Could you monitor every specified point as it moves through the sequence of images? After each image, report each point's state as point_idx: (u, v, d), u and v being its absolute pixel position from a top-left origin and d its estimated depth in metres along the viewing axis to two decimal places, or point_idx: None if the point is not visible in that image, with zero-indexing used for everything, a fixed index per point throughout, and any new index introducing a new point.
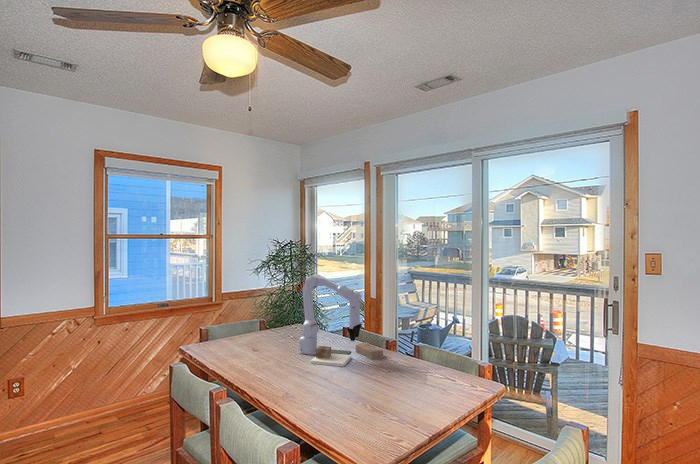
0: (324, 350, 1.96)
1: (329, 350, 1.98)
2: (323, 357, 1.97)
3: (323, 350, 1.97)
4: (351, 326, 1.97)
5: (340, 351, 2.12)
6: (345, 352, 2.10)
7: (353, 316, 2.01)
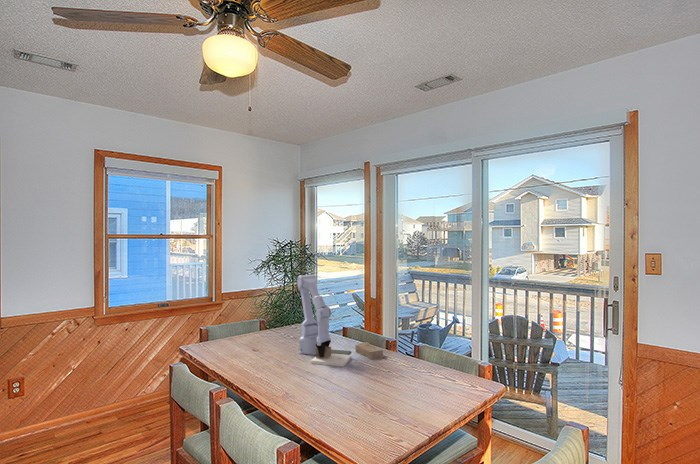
0: None
1: (329, 350, 1.98)
2: (323, 357, 1.97)
3: None
4: (319, 343, 1.92)
5: (340, 351, 2.12)
6: (345, 352, 2.10)
7: (321, 332, 1.97)
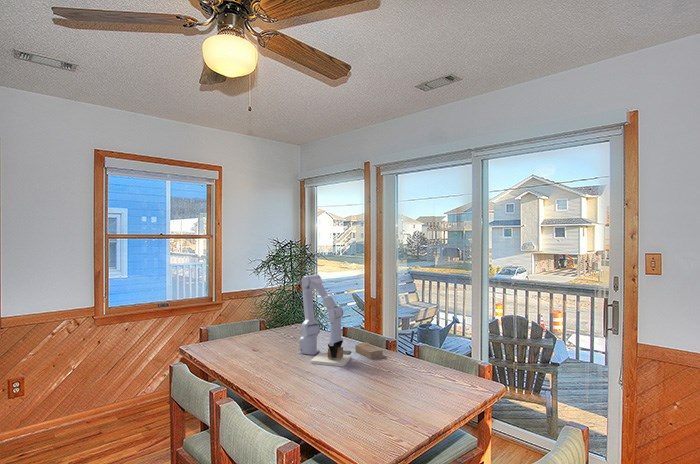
0: None
1: (341, 350, 1.96)
2: (335, 358, 1.95)
3: None
4: (331, 343, 1.90)
5: None
6: (345, 352, 2.10)
7: (334, 332, 1.95)
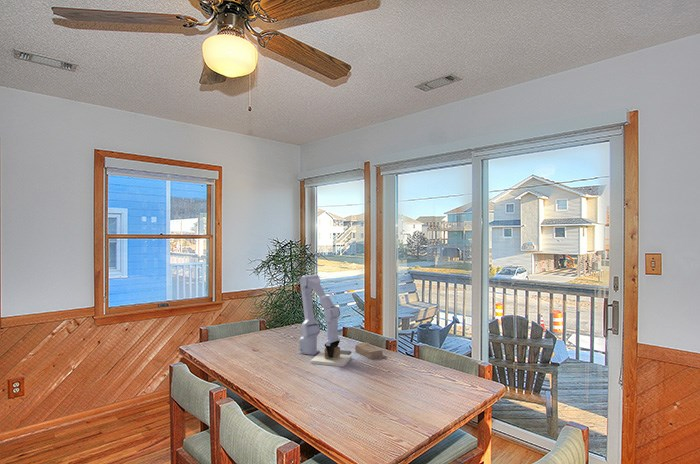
0: None
1: (338, 350, 1.97)
2: None
3: None
4: (328, 343, 1.91)
5: (340, 351, 2.12)
6: (345, 352, 2.10)
7: (330, 332, 1.95)
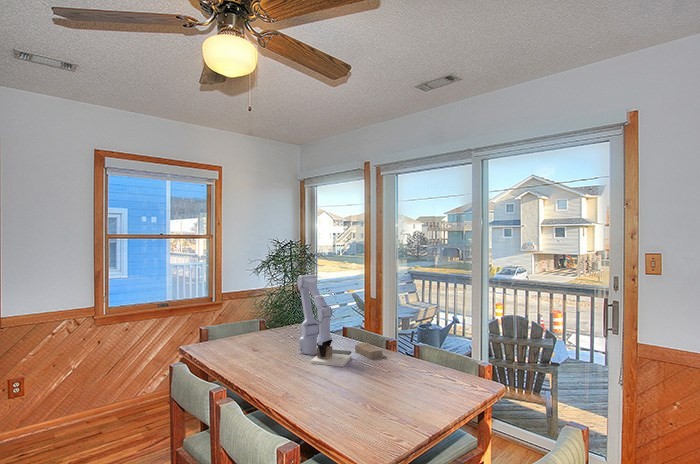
0: None
1: (330, 350, 1.98)
2: (324, 357, 1.96)
3: None
4: (320, 342, 1.92)
5: (340, 351, 2.12)
6: (345, 352, 2.10)
7: (323, 332, 1.96)
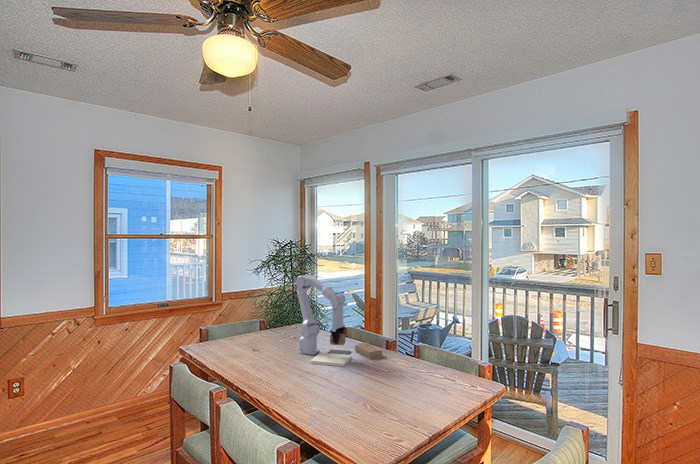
0: (339, 336, 1.97)
1: (344, 337, 1.99)
2: (338, 344, 1.98)
3: None
4: (333, 329, 1.93)
5: (340, 351, 2.12)
6: (345, 352, 2.10)
7: (336, 319, 1.98)
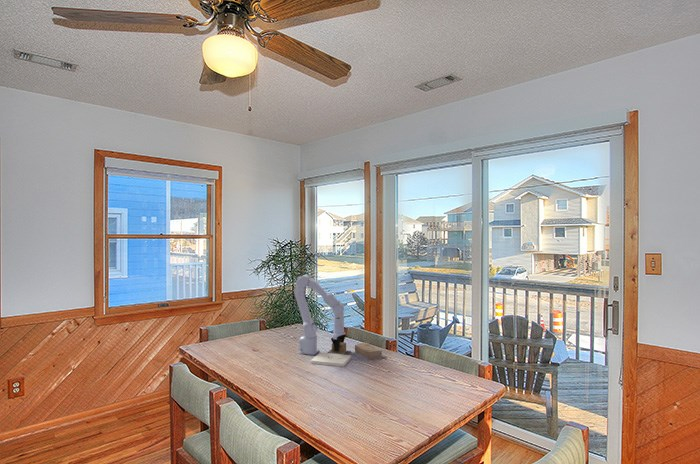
0: (340, 345, 2.08)
1: (344, 345, 2.09)
2: (339, 352, 2.08)
3: None
4: (335, 337, 2.04)
5: None
6: (345, 352, 2.10)
7: (337, 327, 2.08)
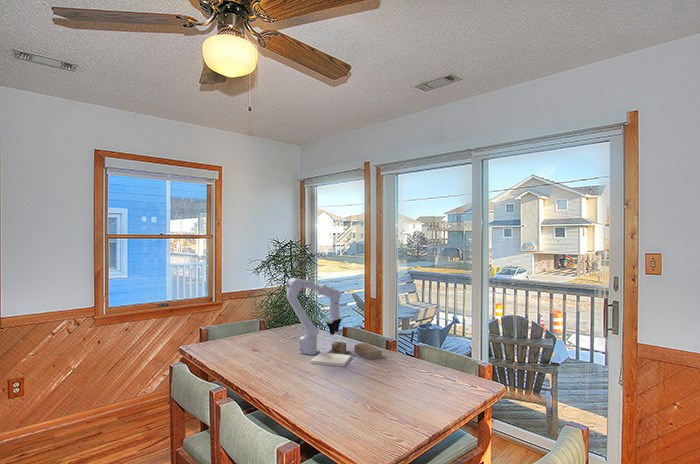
0: (340, 345, 2.08)
1: (344, 345, 2.09)
2: (339, 352, 2.08)
3: (339, 345, 2.08)
4: (330, 321, 2.12)
5: None
6: (345, 352, 2.10)
7: (332, 311, 2.16)
